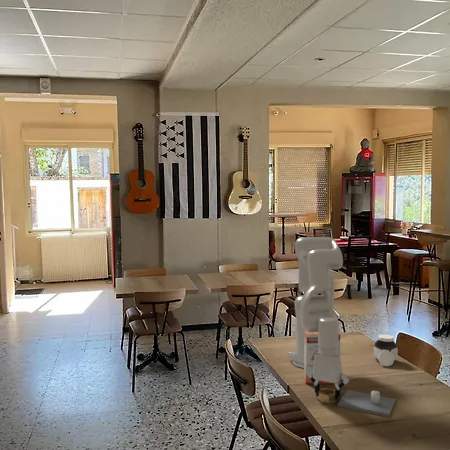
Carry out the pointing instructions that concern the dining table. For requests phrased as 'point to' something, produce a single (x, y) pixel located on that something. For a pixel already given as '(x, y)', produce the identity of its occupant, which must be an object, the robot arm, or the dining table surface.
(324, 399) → the ring
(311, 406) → the dining table surface
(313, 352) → the cracker box
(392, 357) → the spread jar
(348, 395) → the base
